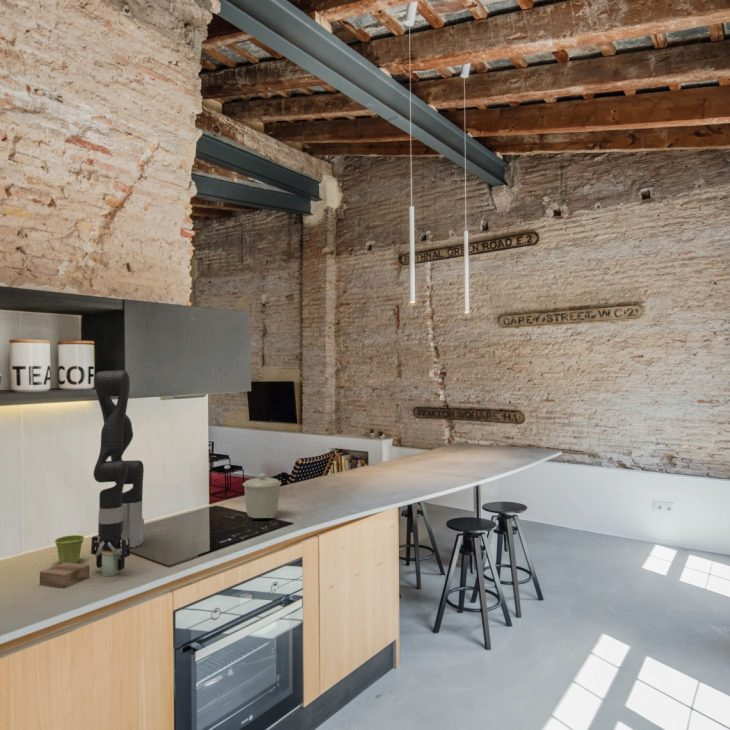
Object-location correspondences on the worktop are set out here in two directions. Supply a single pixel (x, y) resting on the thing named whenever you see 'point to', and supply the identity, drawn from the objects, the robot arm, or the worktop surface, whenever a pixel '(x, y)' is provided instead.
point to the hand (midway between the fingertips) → (110, 568)
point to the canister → (262, 496)
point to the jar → (109, 563)
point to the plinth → (64, 574)
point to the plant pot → (69, 548)
